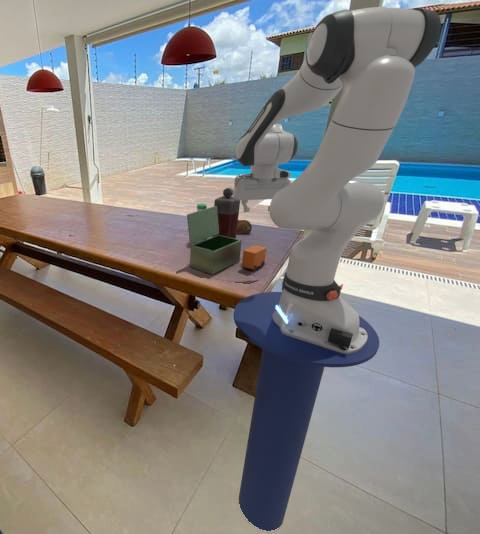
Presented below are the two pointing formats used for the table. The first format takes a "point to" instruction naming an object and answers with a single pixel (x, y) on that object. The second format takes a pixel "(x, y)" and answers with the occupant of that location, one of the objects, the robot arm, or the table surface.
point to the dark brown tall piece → (227, 213)
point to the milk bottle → (199, 208)
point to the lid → (203, 224)
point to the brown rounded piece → (244, 226)
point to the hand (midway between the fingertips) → (258, 211)
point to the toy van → (253, 257)
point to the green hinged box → (215, 253)
